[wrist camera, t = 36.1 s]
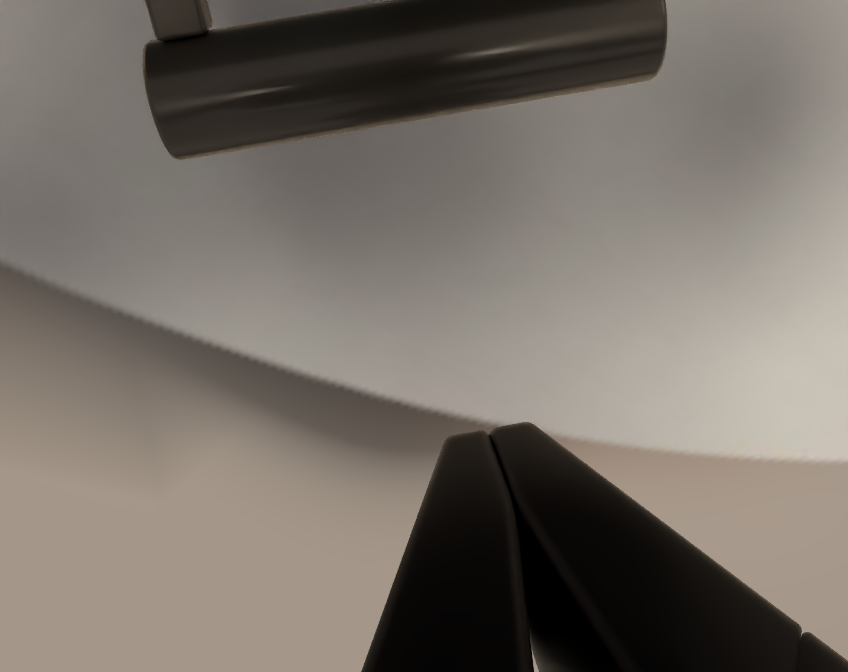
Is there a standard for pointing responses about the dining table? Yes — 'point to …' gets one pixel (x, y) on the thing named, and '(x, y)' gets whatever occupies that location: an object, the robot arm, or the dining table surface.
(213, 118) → the drawer
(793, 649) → the robot arm
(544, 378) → the dining table surface
